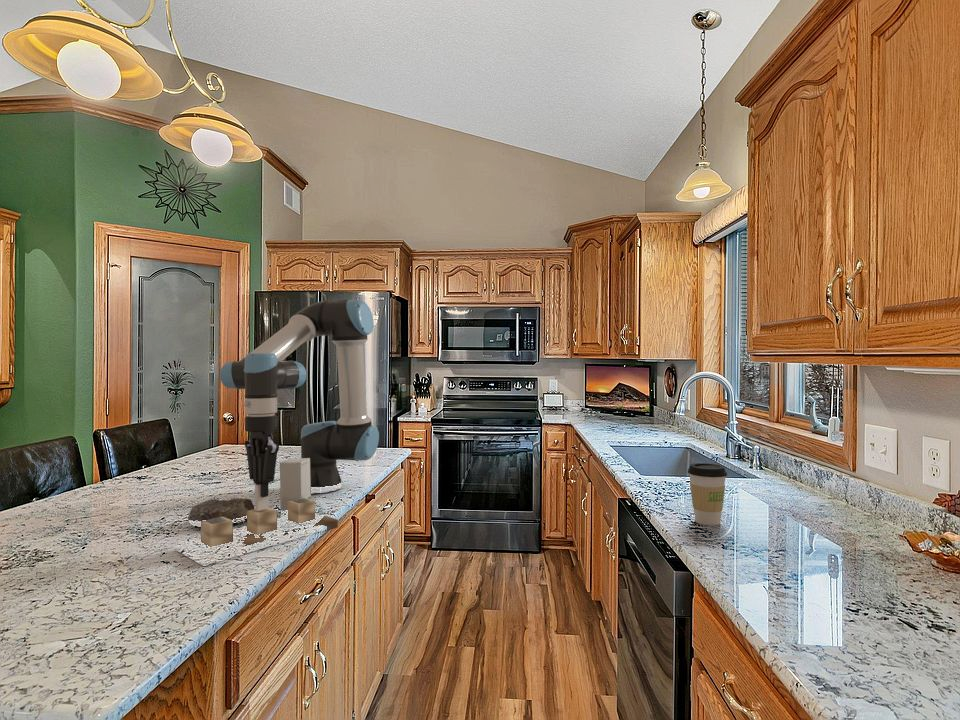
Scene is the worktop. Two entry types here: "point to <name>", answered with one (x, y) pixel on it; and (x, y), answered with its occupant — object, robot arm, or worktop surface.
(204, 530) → the marked block 1
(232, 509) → the rock
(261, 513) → the plain beech block
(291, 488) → the skincare box
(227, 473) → the worktop surface
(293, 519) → the marked block 2
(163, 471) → the worktop surface
